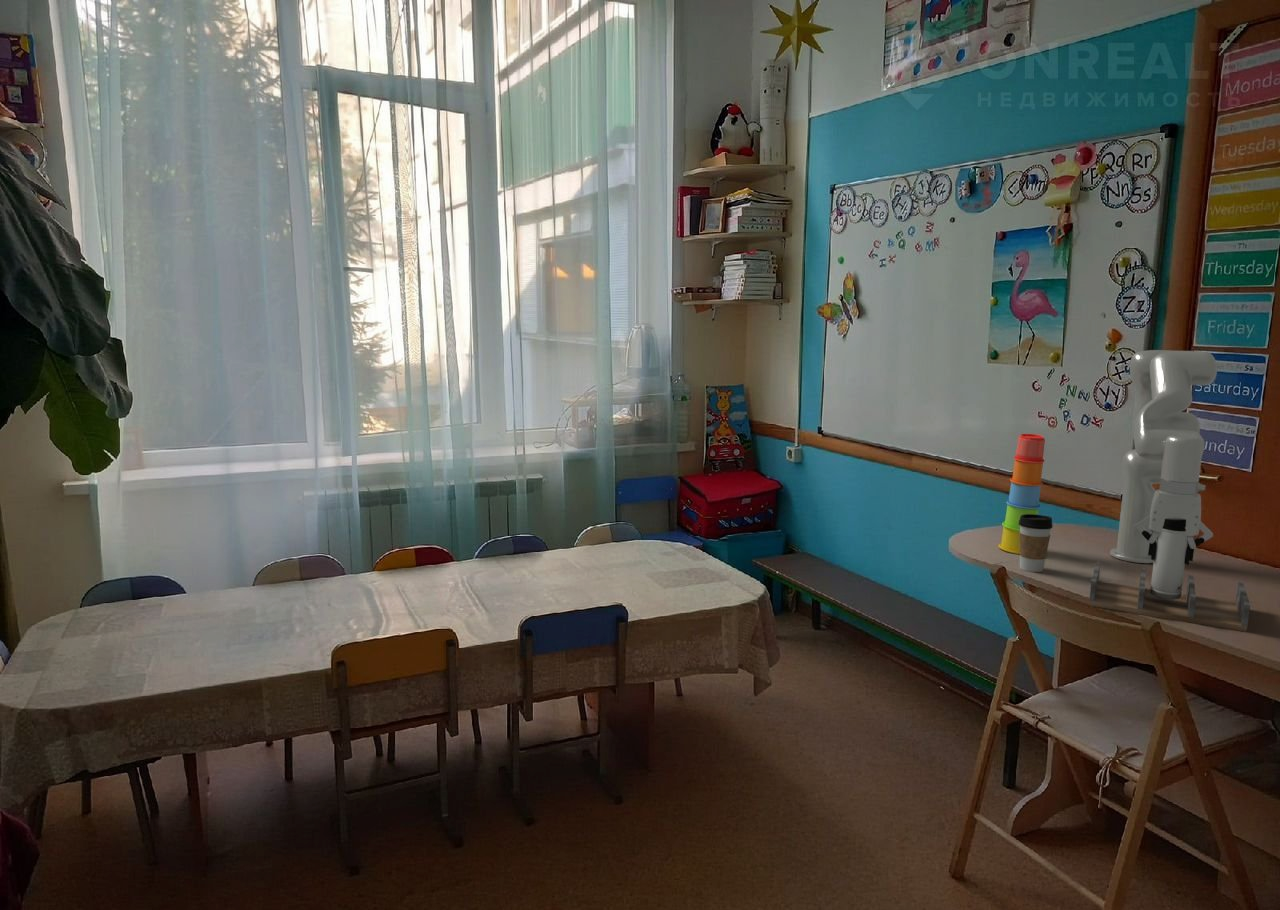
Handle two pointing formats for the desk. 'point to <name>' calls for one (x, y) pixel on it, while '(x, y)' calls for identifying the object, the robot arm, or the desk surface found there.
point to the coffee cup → (1034, 541)
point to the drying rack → (1172, 603)
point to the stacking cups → (1023, 488)
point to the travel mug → (1169, 560)
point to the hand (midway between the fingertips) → (1169, 560)
